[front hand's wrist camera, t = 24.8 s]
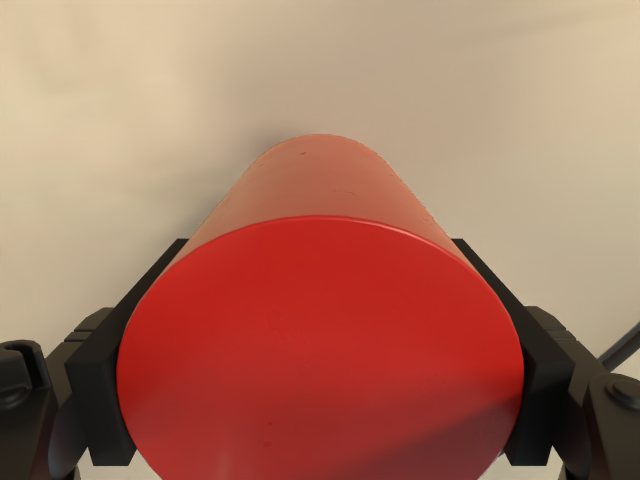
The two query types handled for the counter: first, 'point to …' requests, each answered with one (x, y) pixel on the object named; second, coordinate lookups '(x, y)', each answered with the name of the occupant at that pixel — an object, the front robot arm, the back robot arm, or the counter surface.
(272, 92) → the counter surface
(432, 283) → the tin
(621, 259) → the counter surface
